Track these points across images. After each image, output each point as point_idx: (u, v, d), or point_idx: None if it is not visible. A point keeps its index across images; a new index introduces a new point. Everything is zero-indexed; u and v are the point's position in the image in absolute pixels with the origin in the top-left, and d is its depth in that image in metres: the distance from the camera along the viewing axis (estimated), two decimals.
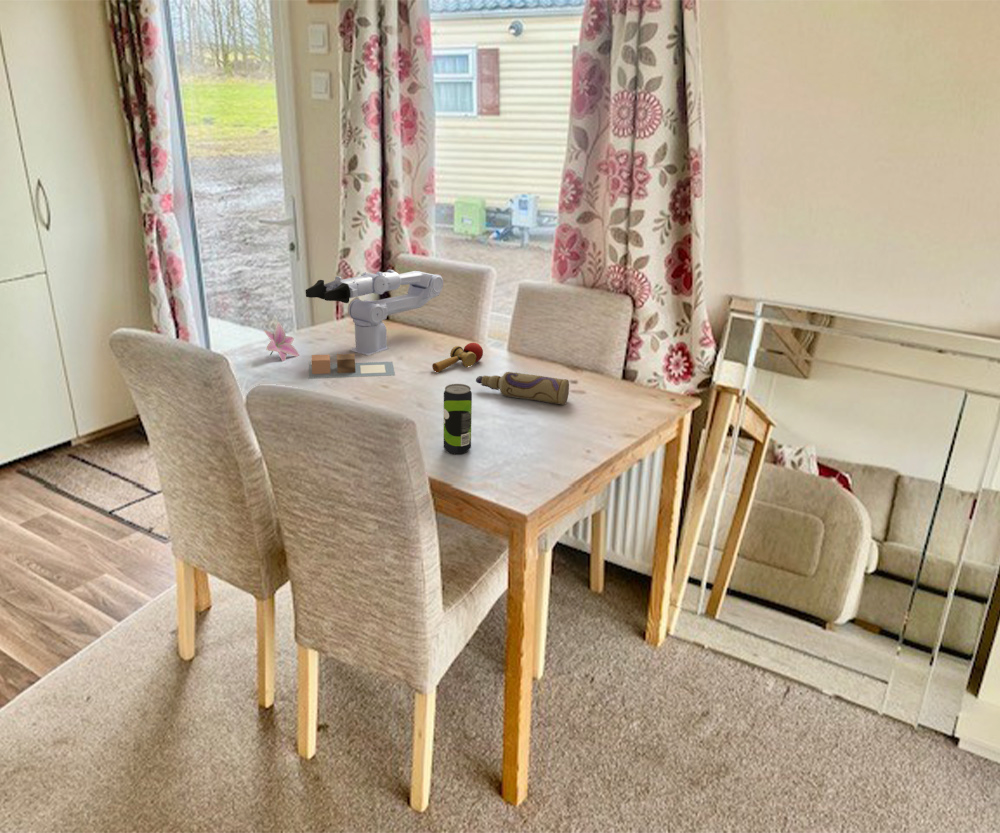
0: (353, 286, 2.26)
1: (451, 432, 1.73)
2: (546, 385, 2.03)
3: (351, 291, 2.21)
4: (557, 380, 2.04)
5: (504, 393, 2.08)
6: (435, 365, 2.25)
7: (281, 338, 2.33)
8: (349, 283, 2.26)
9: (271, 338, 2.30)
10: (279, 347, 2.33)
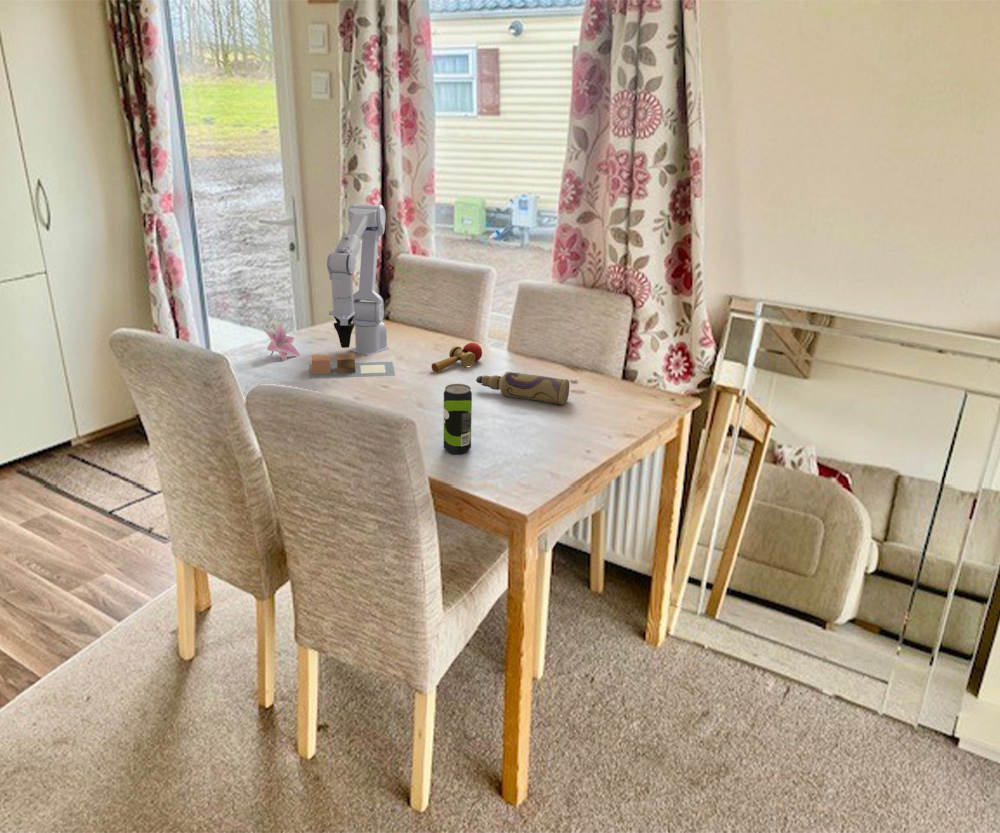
0: (339, 304, 2.14)
1: (451, 432, 1.73)
2: (546, 385, 2.03)
3: None
4: (557, 380, 2.04)
5: (504, 393, 2.08)
6: (434, 365, 2.25)
7: (281, 338, 2.33)
8: (336, 307, 2.14)
9: (272, 338, 2.30)
10: (280, 347, 2.33)
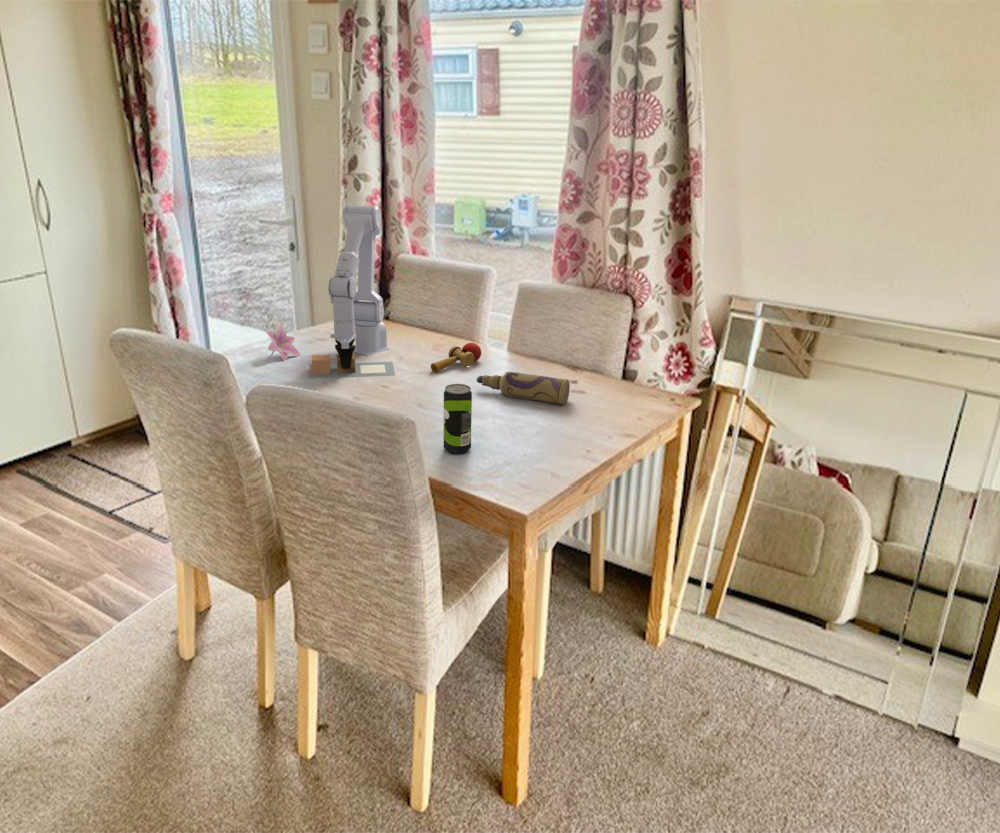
0: (340, 327, 2.16)
1: (451, 432, 1.73)
2: (547, 385, 2.03)
3: None
4: (558, 380, 2.04)
5: (505, 393, 2.08)
6: (433, 365, 2.25)
7: (282, 338, 2.33)
8: (337, 330, 2.17)
9: (272, 338, 2.30)
10: (280, 347, 2.33)
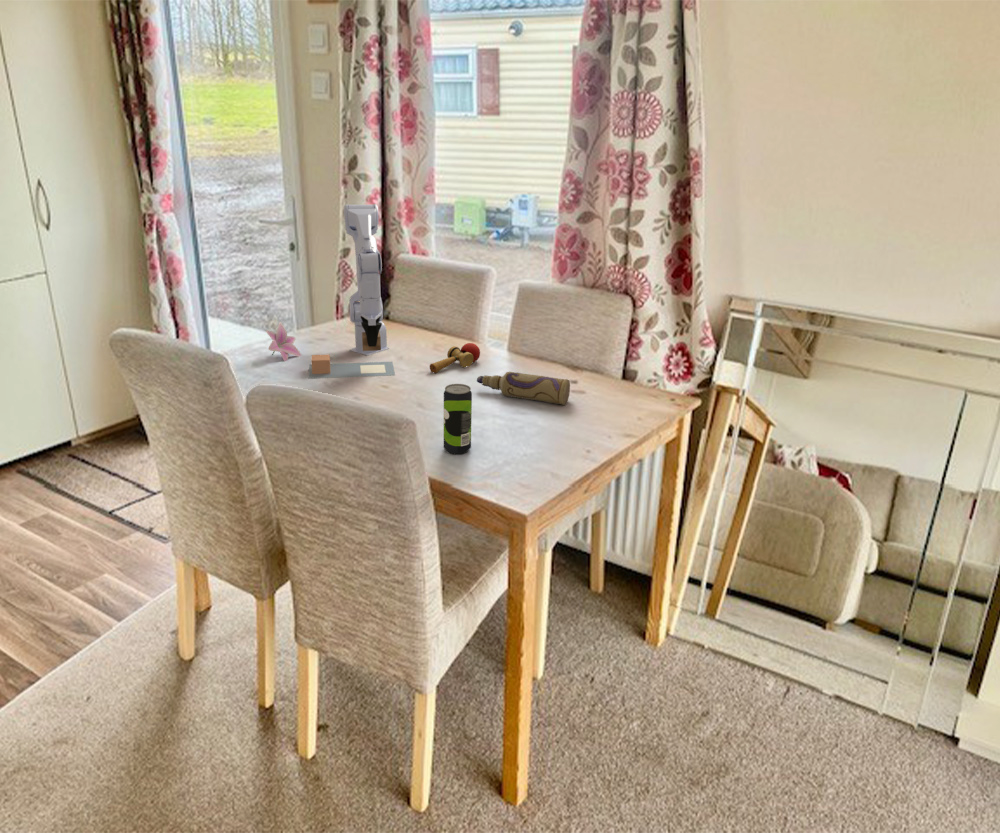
0: (367, 304, 2.15)
1: (451, 432, 1.73)
2: (547, 385, 2.03)
3: None
4: (558, 380, 2.04)
5: (505, 393, 2.08)
6: (432, 366, 2.24)
7: (282, 338, 2.33)
8: (363, 307, 2.16)
9: (273, 338, 2.30)
10: (281, 347, 2.33)
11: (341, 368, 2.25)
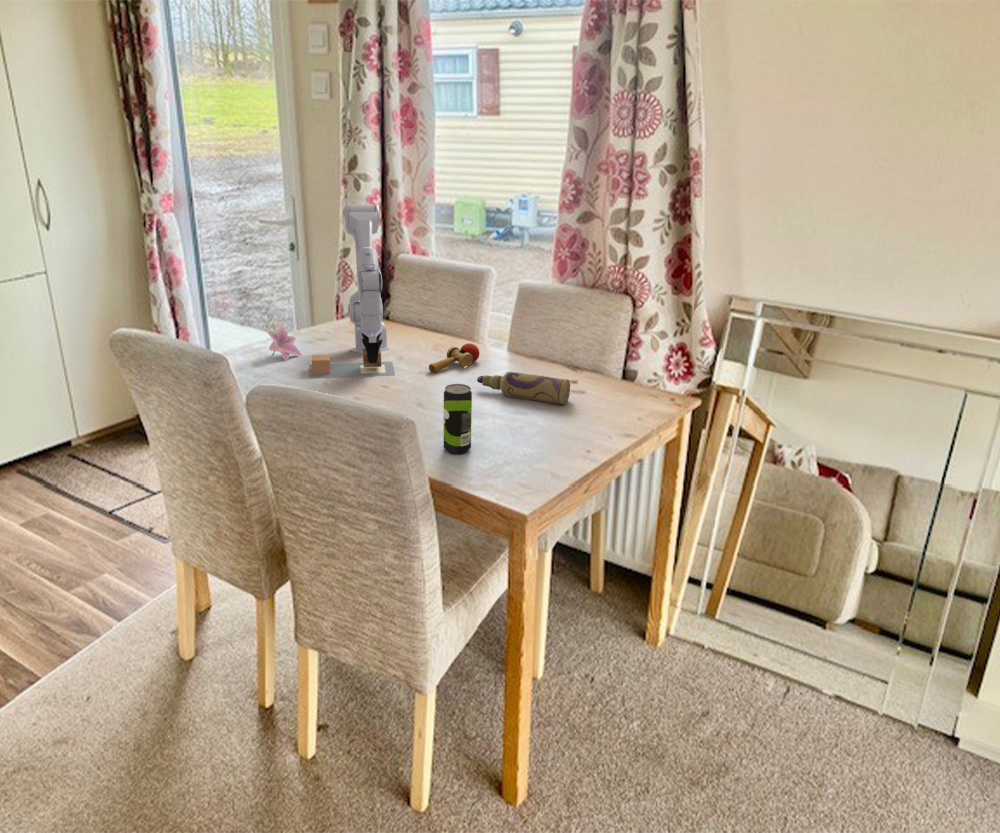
0: (368, 321, 2.17)
1: (451, 432, 1.73)
2: (547, 385, 2.03)
3: None
4: (558, 380, 2.04)
5: (505, 393, 2.08)
6: (432, 366, 2.24)
7: (283, 338, 2.33)
8: (364, 324, 2.18)
9: (273, 338, 2.30)
10: (281, 347, 2.33)
11: (341, 368, 2.25)
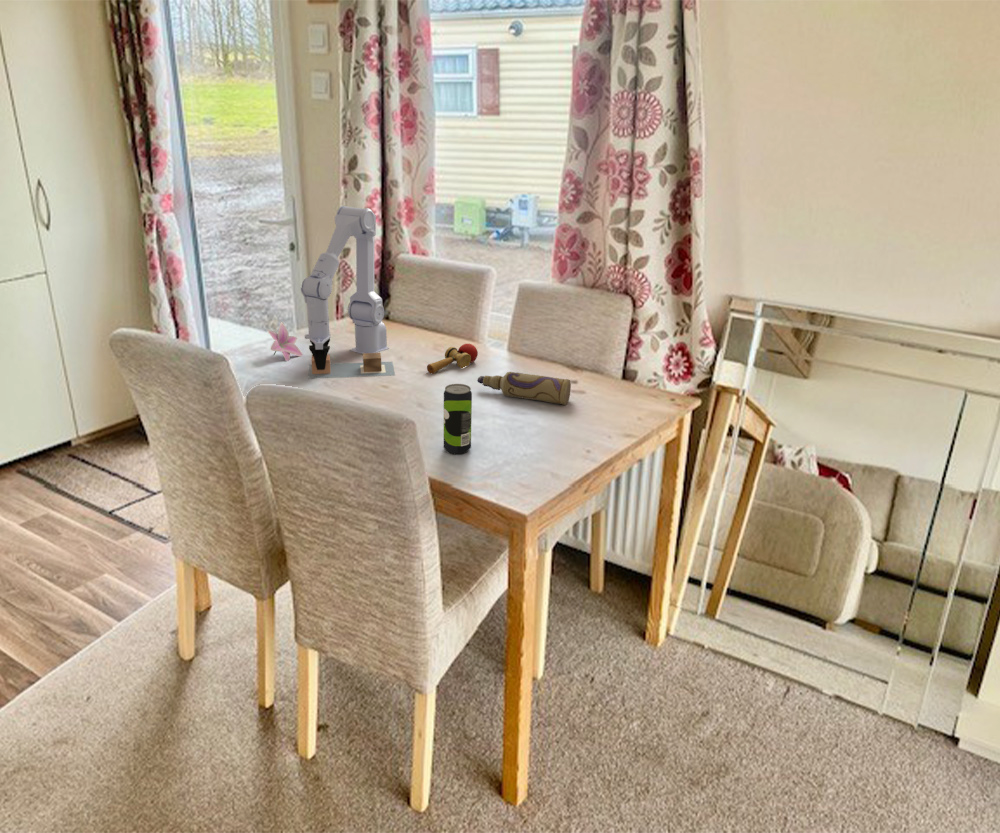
0: (314, 328, 2.15)
1: (451, 432, 1.73)
2: (548, 385, 2.03)
3: None
4: (559, 380, 2.04)
5: (506, 393, 2.08)
6: (430, 366, 2.24)
7: (284, 338, 2.33)
8: (311, 330, 2.16)
9: (275, 338, 2.30)
10: (282, 347, 2.33)
11: (341, 368, 2.25)
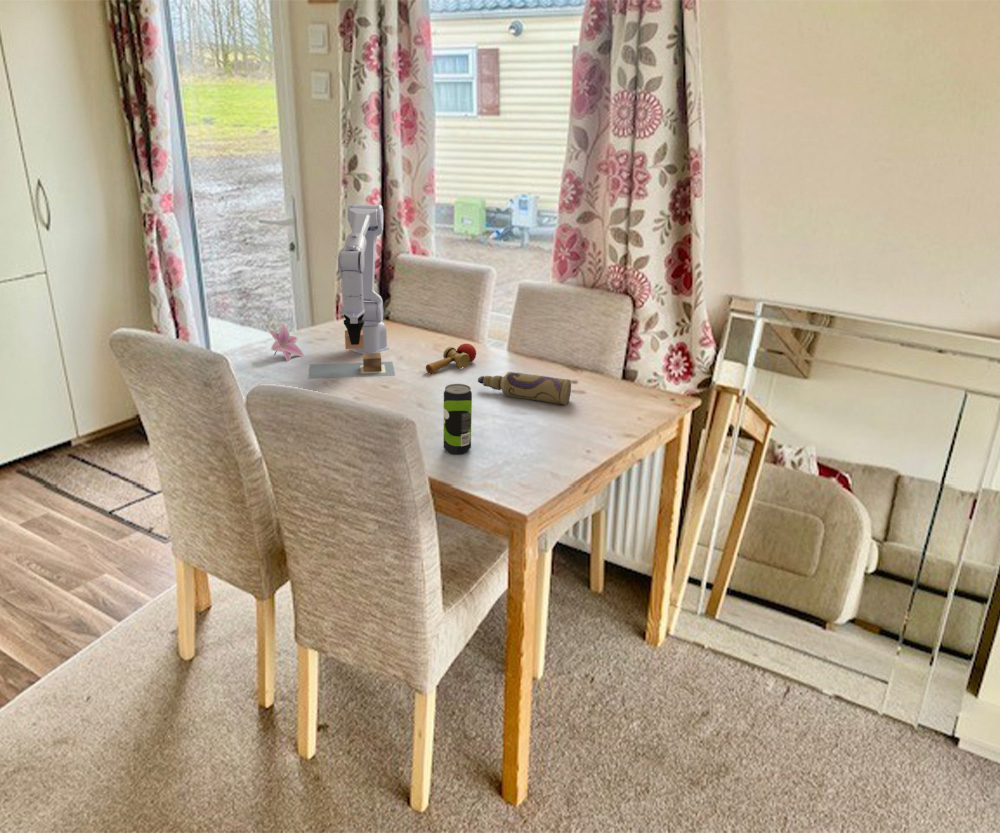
0: (349, 302, 2.14)
1: (451, 432, 1.73)
2: (548, 385, 2.03)
3: None
4: (559, 380, 2.04)
5: (506, 393, 2.08)
6: (429, 366, 2.24)
7: (285, 338, 2.33)
8: (346, 305, 2.15)
9: (275, 338, 2.30)
10: (283, 347, 2.33)
11: (341, 368, 2.25)
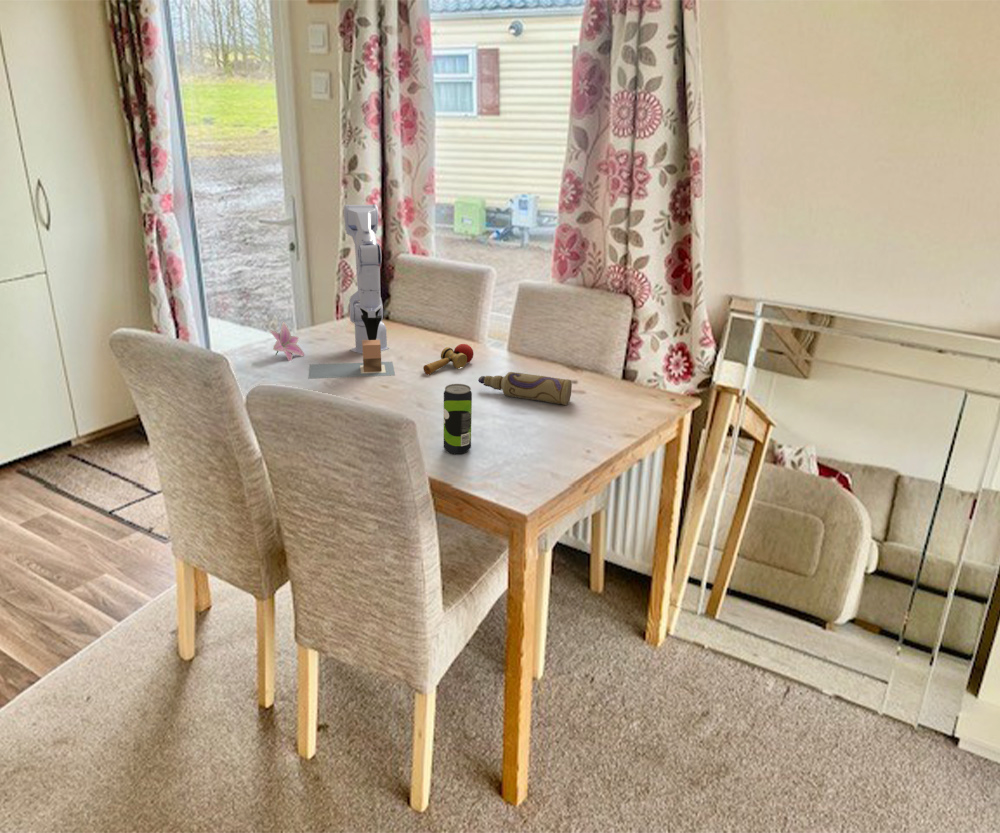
0: (367, 296, 2.14)
1: (451, 432, 1.73)
2: (549, 385, 2.03)
3: None
4: (560, 380, 2.04)
5: (507, 393, 2.08)
6: (426, 367, 2.23)
7: (286, 338, 2.33)
8: (363, 299, 2.15)
9: (277, 338, 2.30)
10: (285, 347, 2.33)
11: (341, 368, 2.25)
